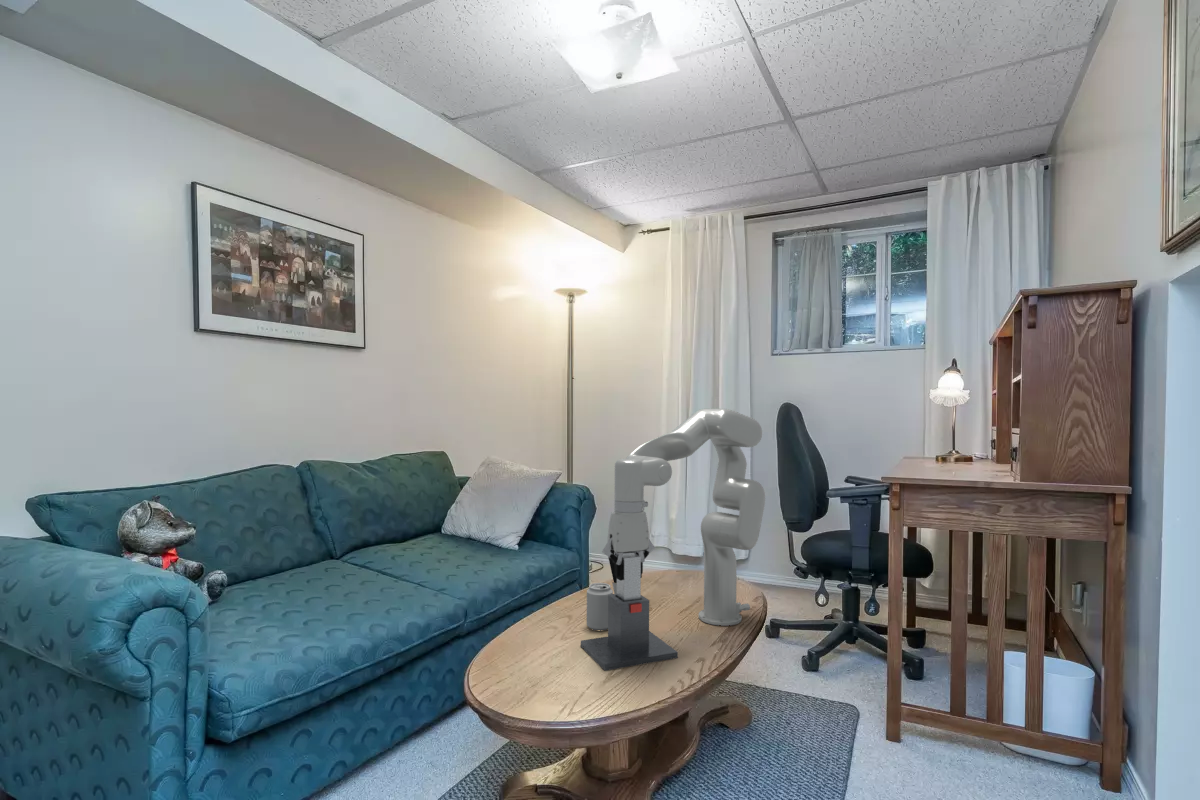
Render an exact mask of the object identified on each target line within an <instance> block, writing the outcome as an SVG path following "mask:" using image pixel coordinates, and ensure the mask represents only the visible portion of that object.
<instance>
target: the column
mask: <svg viewBox="0 0 1200 800" xmlns="http://www.w3.org/2000/svg"><path fill="white" fill-rule="evenodd" d="M621 564H622V565H623V580H621V581H620V580H619V579H617V598H619V599H620V600H621V601H623V602H626V601H634V600H641V595H642V594H641V593H642V592H641V589H642V588H641V583H642V582H641V581H642V580H641V579H642V578H641V557H640V556H638V555H637V554H635V553H624V554H623V557H622V562H621Z"/></svg>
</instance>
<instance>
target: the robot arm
mask: <svg viewBox="0 0 1200 800" xmlns="http://www.w3.org/2000/svg"><path fill="white" fill-rule="evenodd" d="M762 437H763V430H762V426H761V425H760V423H759V421H758V420H757V419H755V418H752V417H751V416H748V415H745V414H743V413H740V412H737V411H735V410H732V409H727V408H701V409H698V410H696V411H695V412H694V413H692V414H691V415H690V416H688V417H687V418H686V419H685V420H684V421H683V422H681V423H680V424H679V425H678V426H677V427H676V428H674V429H673V430H671V431H669V432H667V433H665V434H663V435H660V436H657V437H656V438H653V439H651V440H649V441H647V442H644V443H642V444H640V445H639V446H638V447H637V448H635V449H634V450H633V451H632V452H630V454H628V456H627V457H626V458H619V459H617V460H616V461H615V463H614V500H613V501H614V503H613V504H614V505H613V506H614V508H613V509H614V511H611V513H610V517H609V522H608V528H607V529H608V530H607V531H608V532H607V543H606V544H605V546H604V547H603V549H602V551H601V552H602V554H604V555H605V556H607V557H609V558H610V559H611V560H612V561H613V562H614V563H615V566H614V574H615V576H616V578H617V579H619V580H620V581H621V580H623V565H622V564H621V562H622V557H623V553H626V552H635V554H637V555H638V556H640V557H641V579H643V573H644V572H643V571H644V562H645V561H646V558H647V557H648V556H649V555H650V554H651V553H652V551H654V550H655V545H654V544H653V543H652V541H651V540H650V533H649V523H648V517H647V513H646V511H645V508H647V507H649V502H648V501H645V500H644V495H645V494H644V492H645V491H644V488H645V487H646V486H648V487H649V486H652V487H661V486H663V485H666V484H667V483H668V482H669V481H670V480H671V478H672V475H673V470H672V469H673V468H672V466H671V464H670V463H669V461H676V460H681V459H684V458H687V457H690V456H692V455H693V454H694V453H695V452H697V450H699V449H700V448H701V447H702V446H703V445H704V444H706V442H707V441H708V440H710V441H711V442H712V445H713V446H714V448H715V450H716V452H717V458H718V463H717V468H716V475H715V480H714V484H713V485H714V486H713V490H712V501H713V503H714V505H716V506H718V507H720V508H721V509H722V508H723V509H728V510H731V511H739V514H733V513H728V512H722V511H711V512H708V513H707V514H705V515H704V516H703V518H702V520H701V522H700V534H701V540H702V545H703V570H704V571H703V609H702V610H700V611H699V612H698V619H699V620H700V621H702V622H704V623H706V624H709V625H712V626H713V625H714V626H719V625H721V626H723V627H725V626H729V625H730V626H735V625H738V624H739V623H741V622H742V617H743V616H742V615H741V614H740V613H741V612H742V611H743V612H744V611H749V610H750V609H751V606H750V604H749V603H742V602H737V556H736V553H735V551H734V549H736V550H741V551H742V550H743V551H749V550H752V549H754V547H755V546H756V544H758V543H757V542H758V541H759V537H760V533H761V527H762V521H763V518H764V517H763V516H764V510H765V506H766V505H765V504H766V494H765V493H766V492H765V489H764V487H763V485H762V484H761V483H760V482H759V481H757V480H755V479H748V478H746V474H747V473H746V472H747V465H748V464H747V459H746V456H745V453H744V452H743V450H742V448H754V447H755V446H757V445H758V444H759V443H760V442H761V440H762ZM610 550H614V551H615V552H614V554H612V553H611V552H610ZM609 558H608V559H609Z"/></svg>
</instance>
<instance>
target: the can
mask: <svg viewBox="0 0 1200 800" xmlns="http://www.w3.org/2000/svg"><path fill="white" fill-rule="evenodd" d="M611 587H612V585H610V584H608V583H605V582H594V583H591V584H589V586H588V589H587V590H586V626H587V627H588V628H589V629H590V628H591V629H593V630H592V631H595V630H600V631H599V632H602V631H601V630H605V631H608V630H607V629H608V595H610V594H614V589H613V588H611ZM591 629H590V630H591Z"/></svg>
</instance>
